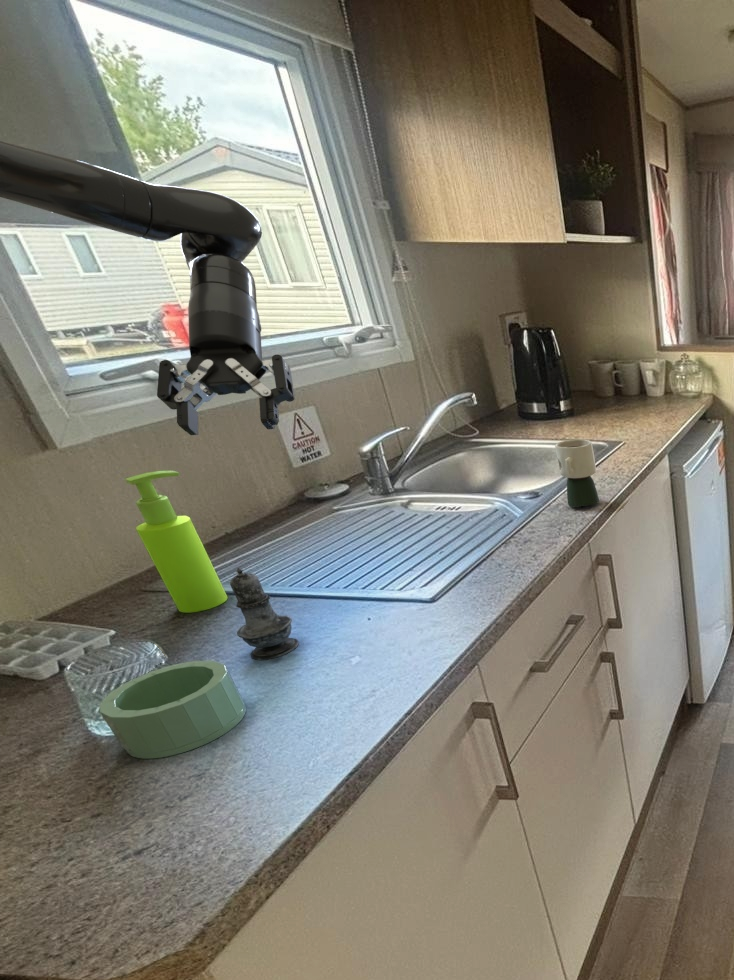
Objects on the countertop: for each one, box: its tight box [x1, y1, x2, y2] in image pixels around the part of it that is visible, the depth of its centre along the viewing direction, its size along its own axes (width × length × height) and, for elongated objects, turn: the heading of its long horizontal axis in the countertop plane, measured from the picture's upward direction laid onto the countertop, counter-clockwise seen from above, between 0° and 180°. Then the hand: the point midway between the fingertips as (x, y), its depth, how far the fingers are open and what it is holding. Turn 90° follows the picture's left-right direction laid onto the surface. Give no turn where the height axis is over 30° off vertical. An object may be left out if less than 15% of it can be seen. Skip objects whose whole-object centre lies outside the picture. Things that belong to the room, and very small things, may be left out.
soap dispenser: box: [124, 470, 228, 614], centre depth 95 cm, size 6×7×20 cm
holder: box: [99, 660, 247, 760], centre depth 72 cm, size 10×10×6 cm
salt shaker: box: [229, 567, 300, 661], centre depth 85 cm, size 6×6×12 cm
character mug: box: [554, 438, 600, 509], centre depth 134 cm, size 11×7×13 cm, turn 0°
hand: (229, 429), depth 87 cm, fingers open, 8 cm apart
